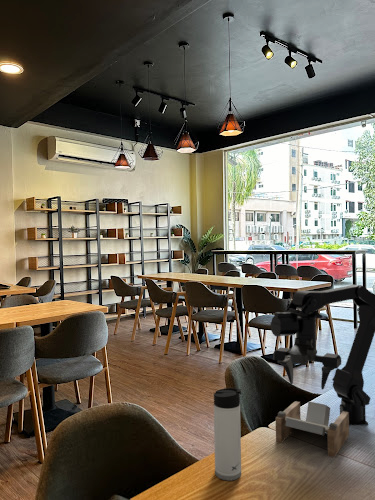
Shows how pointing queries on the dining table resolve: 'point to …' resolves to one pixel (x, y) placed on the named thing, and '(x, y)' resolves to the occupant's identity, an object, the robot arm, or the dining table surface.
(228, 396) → the travel mug
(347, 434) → the trapdoor frame
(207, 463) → the dining table surface
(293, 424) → the trapdoor
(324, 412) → the light gray block
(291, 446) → the dining table surface
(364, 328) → the robot arm
